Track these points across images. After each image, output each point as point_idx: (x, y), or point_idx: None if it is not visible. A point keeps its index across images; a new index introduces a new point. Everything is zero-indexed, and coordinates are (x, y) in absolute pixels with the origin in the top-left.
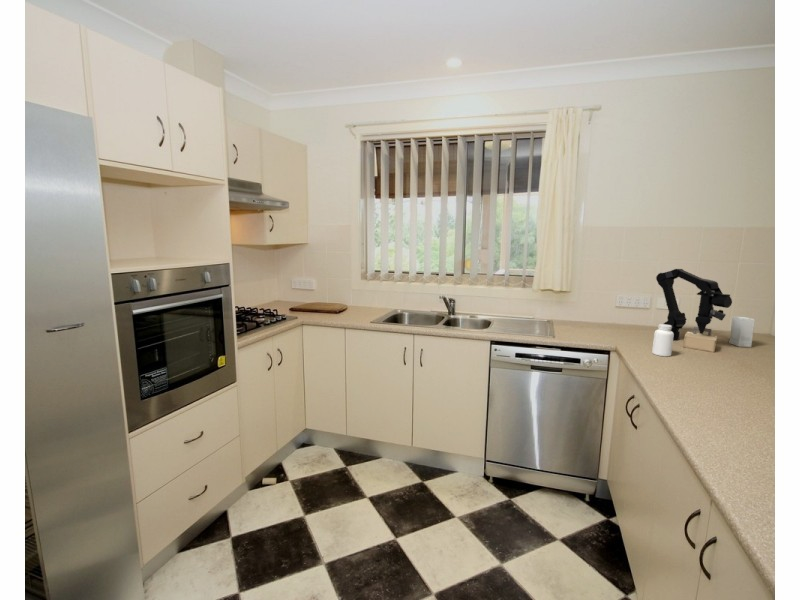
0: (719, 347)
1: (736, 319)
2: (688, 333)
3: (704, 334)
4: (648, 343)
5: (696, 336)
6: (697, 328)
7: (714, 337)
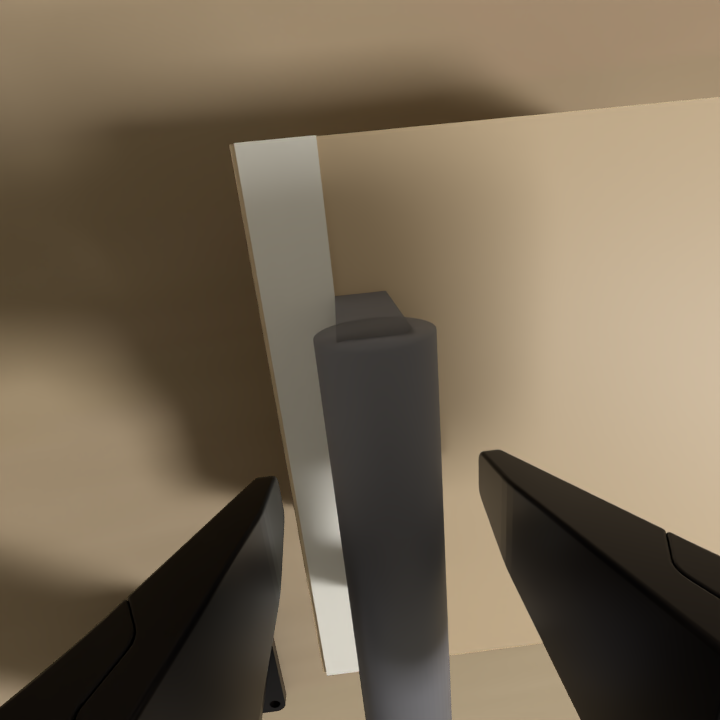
0: (146, 134)
1: None
2: (481, 625)
3: (322, 419)
4: None
5: (689, 480)
6: (445, 658)
7: (501, 176)
